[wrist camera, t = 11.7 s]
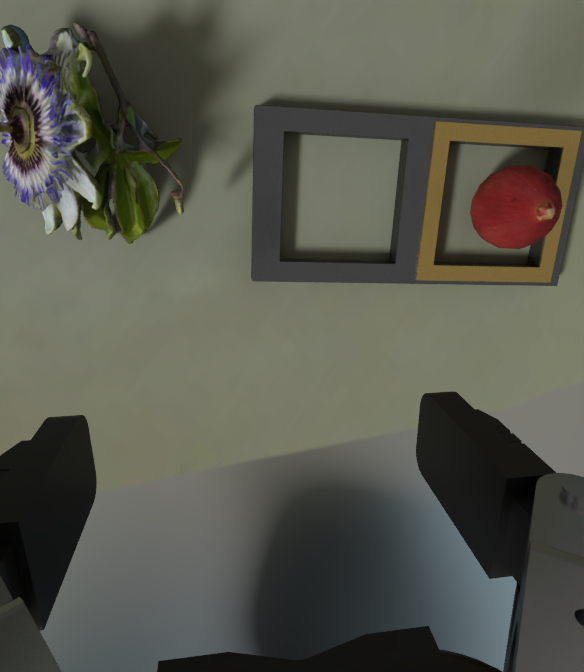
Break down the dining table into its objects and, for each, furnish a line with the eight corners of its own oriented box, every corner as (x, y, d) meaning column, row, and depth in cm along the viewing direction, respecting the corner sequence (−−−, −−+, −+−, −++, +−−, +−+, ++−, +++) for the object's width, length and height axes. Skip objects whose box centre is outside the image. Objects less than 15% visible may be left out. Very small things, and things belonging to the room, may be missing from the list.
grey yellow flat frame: (254, 108, 33) (255, 104, 32) (576, 129, 37) (592, 127, 35) (251, 277, 37) (252, 281, 35) (545, 282, 41) (558, 286, 39)
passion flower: (66, 145, 37) (-65, 5, 26) (199, 119, 36) (124, -41, 25) (63, 277, 34) (-87, 185, 23) (208, 253, 33) (128, 142, 22)
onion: (495, 150, 37) (567, 141, 29) (534, 207, 38) (611, 211, 31) (438, 204, 37) (494, 208, 30) (479, 257, 39) (541, 274, 31)
